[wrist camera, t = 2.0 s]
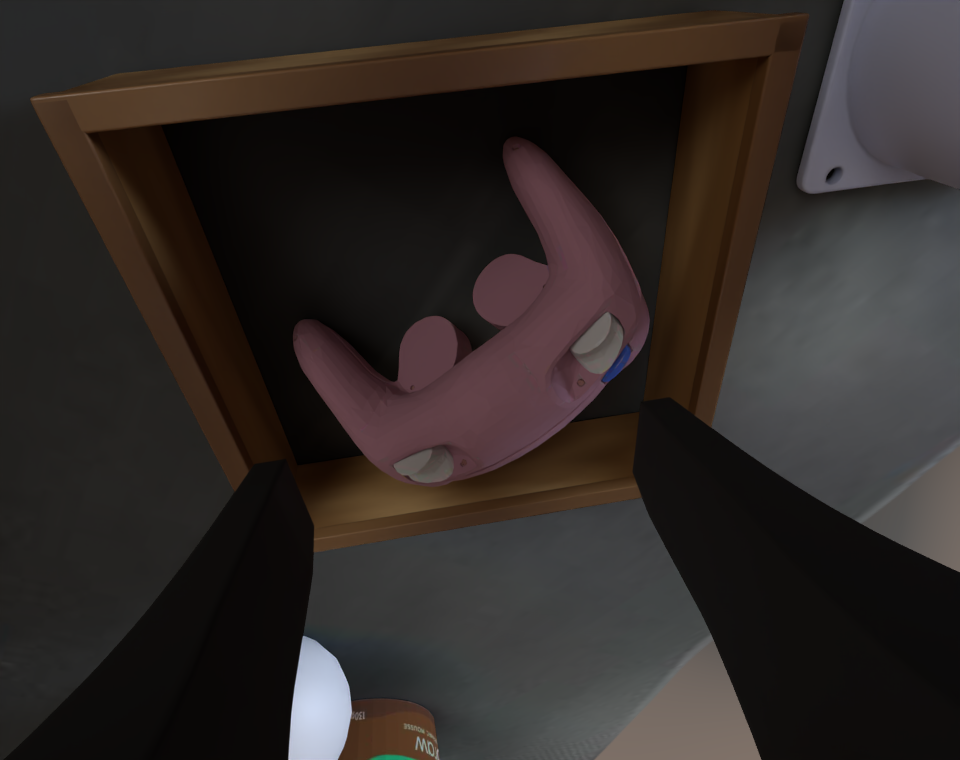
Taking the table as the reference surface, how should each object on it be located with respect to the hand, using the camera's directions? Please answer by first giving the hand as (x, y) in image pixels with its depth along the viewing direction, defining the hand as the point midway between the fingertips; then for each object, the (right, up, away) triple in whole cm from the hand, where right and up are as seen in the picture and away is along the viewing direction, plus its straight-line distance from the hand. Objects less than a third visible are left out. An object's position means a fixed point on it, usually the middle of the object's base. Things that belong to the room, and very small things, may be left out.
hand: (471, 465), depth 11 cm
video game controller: (-1, +5, +7) cm, 8 cm away
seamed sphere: (-11, -13, +18) cm, 25 cm away
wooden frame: (-1, +5, +7) cm, 8 cm away
